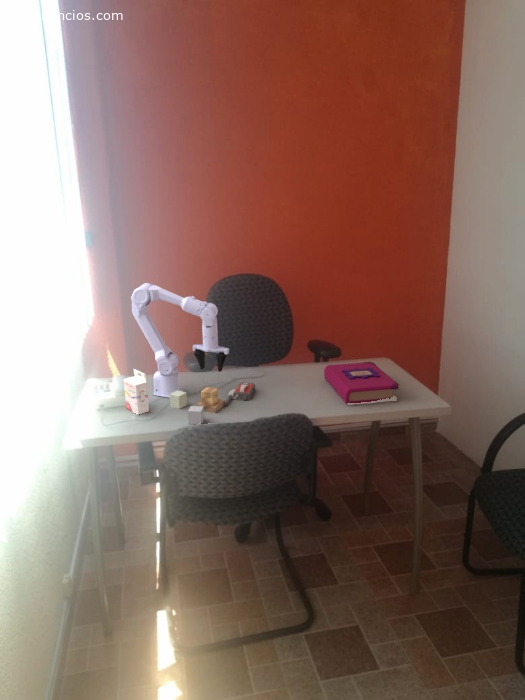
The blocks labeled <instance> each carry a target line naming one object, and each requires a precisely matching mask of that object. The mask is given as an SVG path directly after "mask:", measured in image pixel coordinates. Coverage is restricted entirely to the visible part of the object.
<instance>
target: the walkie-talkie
mask: <svg viewBox="0 0 525 700" xmlns="http://www.w3.org/2000/svg"><path fill="white" fill-rule="evenodd" d="M255 391H256V384H255V383H254V382H240V383H239V384H238V386H237V387H236V388H233V389H231V390H230V391H229V392H228V393H227V399H225V403H224V404H225V405H224V406H227V405H228V404H229V402H230V400H231V399H232V400H241V401H250V400H251V398H252V397H253V395H254V393H255Z"/></svg>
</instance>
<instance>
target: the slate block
mask: <svg viewBox="0 0 525 700" xmlns="http://www.w3.org/2000/svg"><path fill="white" fill-rule="evenodd" d="M187 420H188V425H194V424H199V423H202V424H203V423H204V421H205V411H204V406H196V405H190V407H189V409H188V410H187Z"/></svg>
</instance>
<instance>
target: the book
mask: <svg viewBox="0 0 525 700" xmlns="http://www.w3.org/2000/svg"><path fill="white" fill-rule="evenodd" d="M323 376H324V377H323V378H324V379H325V381H326V382H327V383H328V384H329V385H330V386H331V388H332V387H333V388H332V389H333V390H334V391H335V392H336V393H337V395H338V394H339V395H338V396H339V397H340V398H341V399H342V400H343V402H344V401H345V402H344V403H345V404H346V405H347V403H361V402H371V401H377V400H380V399H381V400H382V399H386V398H389V399H390V398H391V397H393V390H399V386H400V383H398V382H397V381H395V380H394V379H393V378H392V377H390V376H389V375H388V374H387V373H386V372H385V371H383V370H382V369H381V368H380V367H379V366H377V364H376V363H375V362H372V361H363V362H354V363H352V362H351V363H341V364H340V363H338V364H337V363H336V364H328V365H326V366H325V367H324V370H323Z"/></svg>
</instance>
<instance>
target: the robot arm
mask: <svg viewBox="0 0 525 700" xmlns="http://www.w3.org/2000/svg"><path fill="white" fill-rule="evenodd" d="M130 300H131V314H132V315H133V317H134V319H135V321H136V322H137V325H138V326H139V328H140V330H141V331H142V333H143V335H144V337H145V338H146V340H147V342H148V344H149V345H150V348H151V349H152V351H153V352H154V358H155V362H156V366H157V371H155V372H154V375H153V377H152V378H153V379H152V380H153V381H152V382H153V394H152V395H153V396H157V397H164V398H169V394H171V393H173V392H175V391H177V390H178V391H182V392H185V390H184V389H180V378H179V375H180V374H179V370H178V367H177V366H178V365H179V362H180V359H179V357H178V355H177V354H176V353H174V352H173V350H172V349H171V348H170V347H169V346H167V345H166V342H165V340H164V339H163V337H162V336H161V334H160V331H159V330H158V328H157V327H156V326H157V325H156V324H155V322H154V321H153V319H152V317H151V315H150V313H149V311H148V309H149V306H150V303H151V302H155V301H160V300H161V301H164V302H167V303H171V304H172V305H175V306H176V305H177V306H179V307H181V309H182V311H183V312H185V313H188V314H191V315H194V316H196V317H199V318H200V319H201V321H202V324H201V329H202V330H201V332H202V333H201V334H202V344H193V345H192V351H194V352H193V356H195V358H196V360H197V361H198V365H199V367H200V370H204V369H205V367H206V366H205V365H206V364H205V363H206V362H205V361H206V359H205V357H206V352H208V353H210V352H211V353H217V354H216V355H215V357H216V361H217V371H218V372H219V373H220V372H222V371H223V367H224V363H225V361H226V358H227V357H228V354H229V353H230V348H229V347H225V346H220V345H219V334H218V332H219V331H218V330H219V329H218V318H217V315H218V313H219V309H218V307H217V306H216V304H215V303H213V302H207V301H202V300H199V299H196V296H193V295H191V296H186V297H183V296H180V295H178V294H176V293H174V292H171V291H169V290H167V289H164V288H163V287H160V286H158V285H156V284H152V283H149V282H145V283H143V284H141V285H140V286H139V287H137V288H135V289H134V290H133V292H132V295H131V297H130Z"/></svg>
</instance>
